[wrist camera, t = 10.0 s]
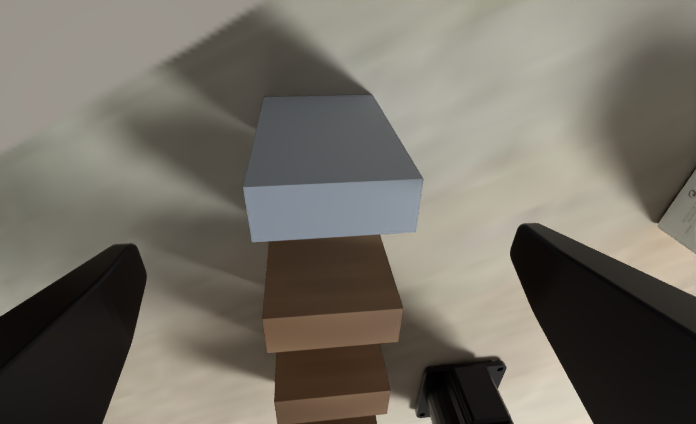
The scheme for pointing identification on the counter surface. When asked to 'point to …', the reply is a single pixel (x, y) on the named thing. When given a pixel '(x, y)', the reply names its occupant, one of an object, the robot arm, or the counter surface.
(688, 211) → the small box
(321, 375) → the domino
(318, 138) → the domino
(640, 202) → the counter surface
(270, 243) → the domino
